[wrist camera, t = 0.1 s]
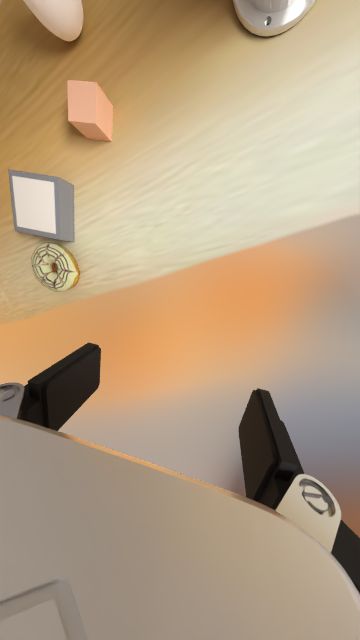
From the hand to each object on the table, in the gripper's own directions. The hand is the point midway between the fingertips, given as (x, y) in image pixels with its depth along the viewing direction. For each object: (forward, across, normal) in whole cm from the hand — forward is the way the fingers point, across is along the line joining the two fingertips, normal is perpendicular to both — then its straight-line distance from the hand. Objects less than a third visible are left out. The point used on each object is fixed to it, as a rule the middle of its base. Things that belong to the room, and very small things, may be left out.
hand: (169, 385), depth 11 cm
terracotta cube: (+31, +26, -27) cm, 49 cm away
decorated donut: (+32, +35, +1) cm, 47 cm away
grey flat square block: (+31, +37, -11) cm, 50 cm away
